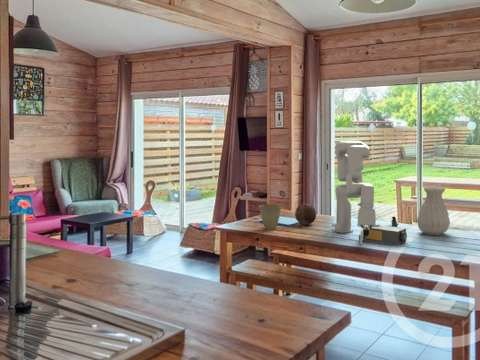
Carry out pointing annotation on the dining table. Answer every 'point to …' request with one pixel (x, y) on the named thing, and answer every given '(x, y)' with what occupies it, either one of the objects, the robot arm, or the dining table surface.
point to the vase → (433, 213)
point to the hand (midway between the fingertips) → (366, 236)
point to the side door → (361, 236)
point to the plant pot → (270, 215)
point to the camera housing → (386, 234)
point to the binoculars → (394, 222)
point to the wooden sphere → (305, 214)
